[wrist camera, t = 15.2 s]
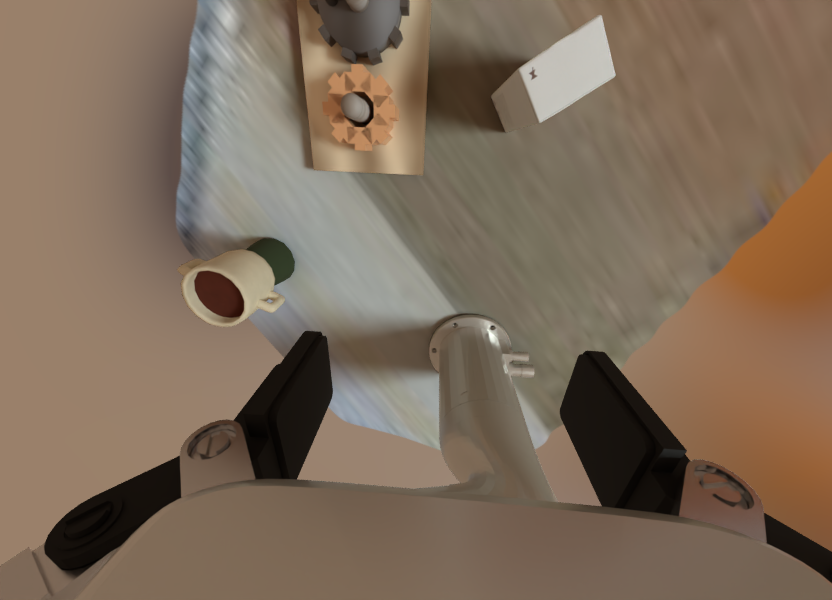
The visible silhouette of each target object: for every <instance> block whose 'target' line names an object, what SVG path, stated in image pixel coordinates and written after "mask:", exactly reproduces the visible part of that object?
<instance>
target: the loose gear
mask: <svg viewBox="0 0 832 600" xmlns="http://www.w3.org/2000/svg"><path fill="white" fill-rule="evenodd" d="M351 71H352V72H344V73H343V74H342V75H341V77H340V76H339V75H338V74H337V73H334V74H333V75H332V76H331V78H330V79H329V80H328V83H329V84H330V85H331V87H332V88H331V90H330V91H329V92H328V102H322V105H323V115H326V116H329V119H330V124H331V125H332V126H333V127H334V128H335V129H334V130H333V132H332V133H331V134H332V135H333V136H334V137H335V138H336V139H337V140H338V141H339V142H341V143H349V144H355V150H361V151H372V145H379V144H382V145H386V144H387V143H388V142H389V141H390V140H391V139H392V138H393V137H392V136H391V135H390V134H389V133H390V132H391V130H392V129H393V128H394V121H399V109H398V107H397V106H396V105H394V101H393V100H392V99H391V97H390V96H389V95H390V94H391V93H392V92H393V90H392V89H391V87H390V86H389V85H388V83H387V82H386V81H385V80H384V78H383V77H382V76H381V74H380V75H379V76H378V77H377V78H376V79H375V78H374V76H373V75H372V74H371V73H370V72H369V71H368V70H367V69H366V67H365V66H364V65H363V64H351ZM347 93H354V94H356V95H358V96H359V97H368V98H370V99H371V100H372V101H373V103H374V118H373V119H372V120H371V122H370V123H369V124H368V125H367V126H366V127H359V126H358V125H357V124H356V123H355V122H354V120H352V119H350V118H348V117H346V116H345V115H344V114H343V112H342V110H341V100H342V97H343V96H344V95H345V94H347Z"/></svg>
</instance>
